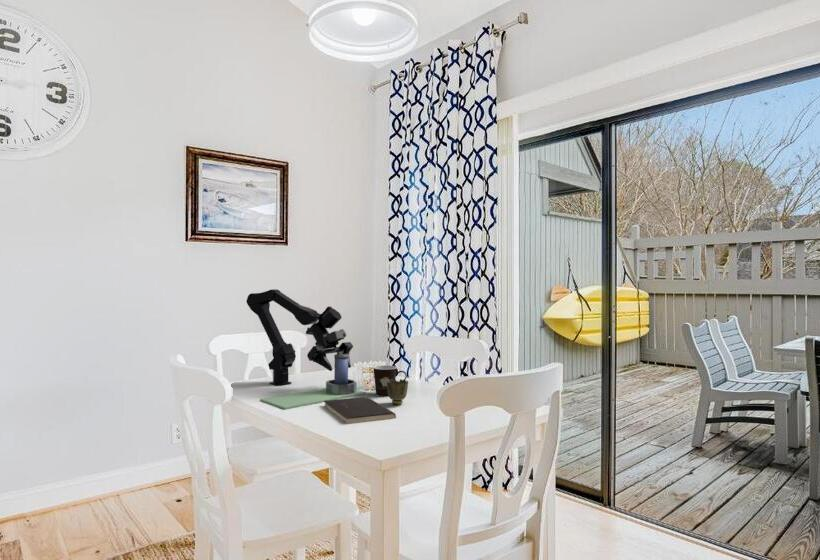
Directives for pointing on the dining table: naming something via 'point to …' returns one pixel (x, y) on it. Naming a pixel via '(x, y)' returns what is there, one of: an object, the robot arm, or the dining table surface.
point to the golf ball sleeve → (341, 369)
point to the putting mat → (305, 398)
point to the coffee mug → (384, 378)
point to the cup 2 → (397, 390)
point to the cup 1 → (341, 387)
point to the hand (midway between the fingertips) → (341, 368)
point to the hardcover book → (359, 410)
